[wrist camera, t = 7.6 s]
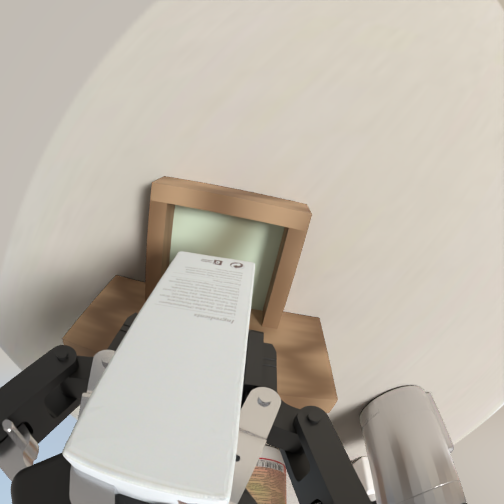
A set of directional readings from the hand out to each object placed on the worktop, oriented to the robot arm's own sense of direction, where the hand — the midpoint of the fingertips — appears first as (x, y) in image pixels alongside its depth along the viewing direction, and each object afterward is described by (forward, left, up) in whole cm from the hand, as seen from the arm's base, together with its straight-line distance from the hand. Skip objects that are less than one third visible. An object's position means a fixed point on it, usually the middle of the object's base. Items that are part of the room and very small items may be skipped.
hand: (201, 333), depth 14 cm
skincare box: (0, 0, -3) cm, 3 cm away
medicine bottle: (-30, +34, -9) cm, 47 cm away
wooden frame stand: (0, 0, -9) cm, 9 cm away
